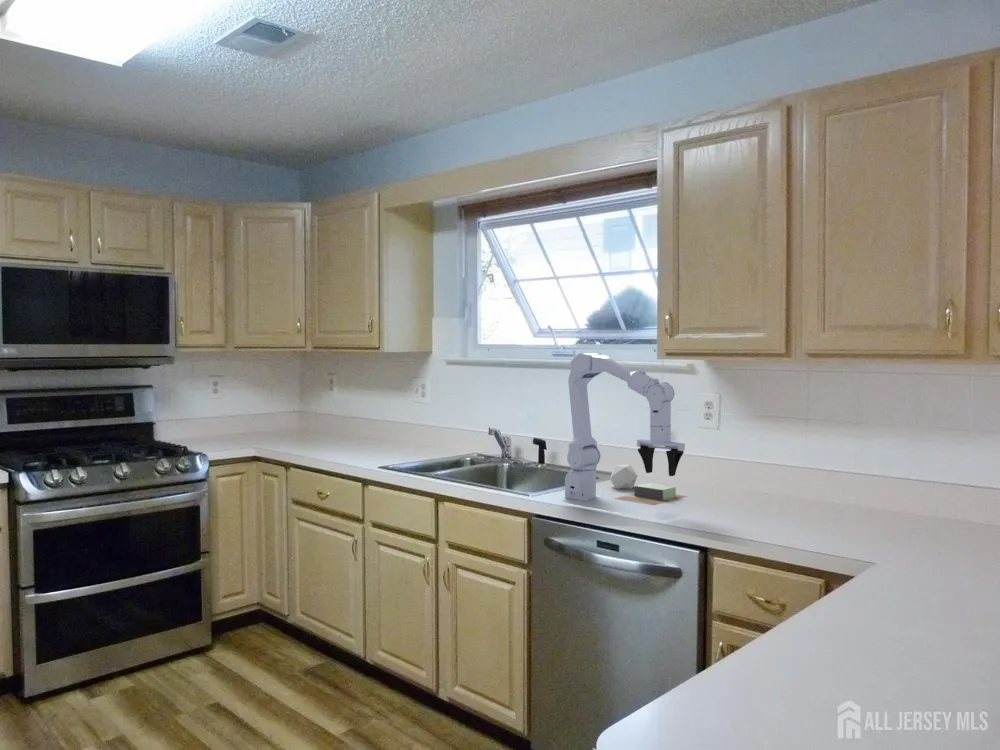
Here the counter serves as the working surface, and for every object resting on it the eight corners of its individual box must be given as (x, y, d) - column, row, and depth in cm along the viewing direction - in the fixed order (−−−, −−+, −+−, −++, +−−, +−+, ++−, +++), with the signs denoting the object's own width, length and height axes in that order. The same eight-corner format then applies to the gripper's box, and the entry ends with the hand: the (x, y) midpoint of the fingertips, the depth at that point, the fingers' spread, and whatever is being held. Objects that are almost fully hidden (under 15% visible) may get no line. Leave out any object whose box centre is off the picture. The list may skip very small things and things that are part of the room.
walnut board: (653, 507, 219) (653, 505, 219) (614, 500, 229) (613, 498, 229) (687, 498, 232) (687, 496, 232) (648, 492, 242) (648, 490, 242)
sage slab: (662, 490, 226) (675, 487, 231) (634, 486, 233) (647, 483, 238) (662, 500, 226) (675, 496, 231) (634, 495, 233) (647, 492, 238)
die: (630, 494, 242) (644, 468, 244) (606, 480, 243) (620, 455, 246) (626, 499, 249) (640, 474, 252) (603, 485, 251) (616, 460, 254)
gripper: (690, 426, 213) (690, 475, 214) (647, 423, 224) (647, 469, 224) (676, 428, 209) (676, 478, 209) (632, 425, 219) (632, 472, 219)
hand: (660, 474), depth 216 cm, fingers open, 7 cm apart
